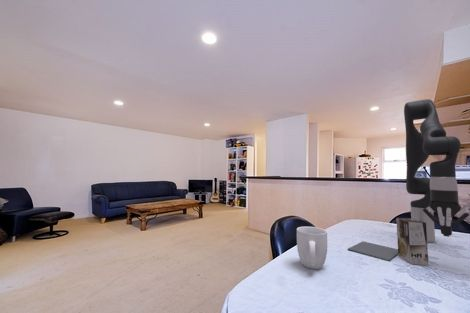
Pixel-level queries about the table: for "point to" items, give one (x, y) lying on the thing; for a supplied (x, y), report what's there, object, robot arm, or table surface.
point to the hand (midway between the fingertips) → (446, 235)
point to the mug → (312, 246)
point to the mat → (375, 250)
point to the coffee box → (412, 241)
